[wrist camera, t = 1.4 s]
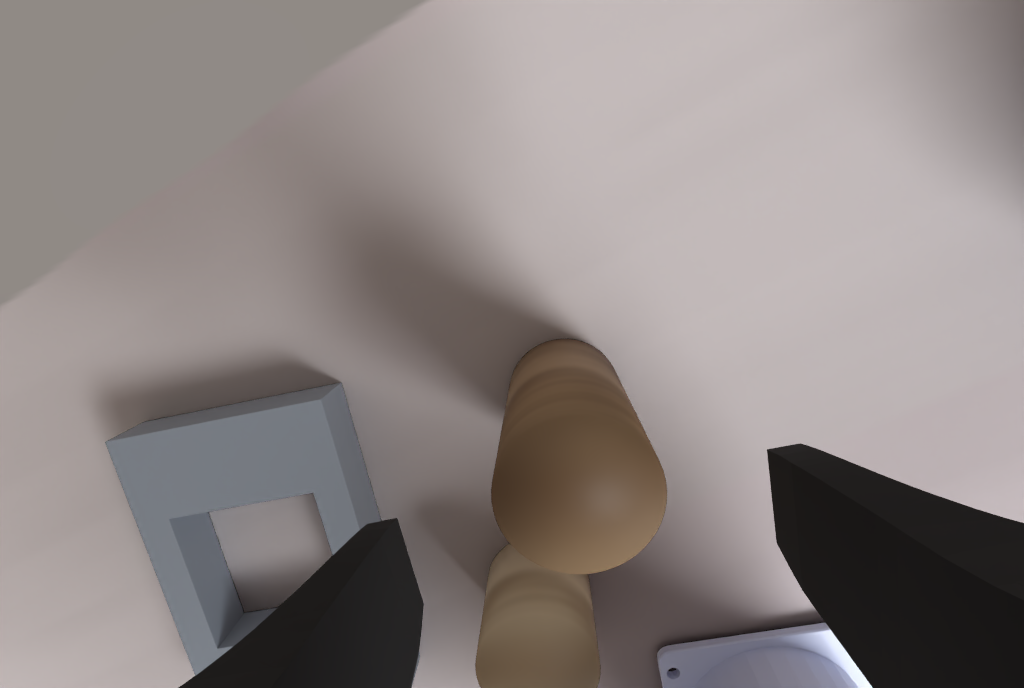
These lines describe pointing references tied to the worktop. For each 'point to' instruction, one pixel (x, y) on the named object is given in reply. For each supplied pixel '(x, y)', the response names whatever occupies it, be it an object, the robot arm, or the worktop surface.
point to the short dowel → (536, 627)
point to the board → (236, 496)
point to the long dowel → (574, 464)
